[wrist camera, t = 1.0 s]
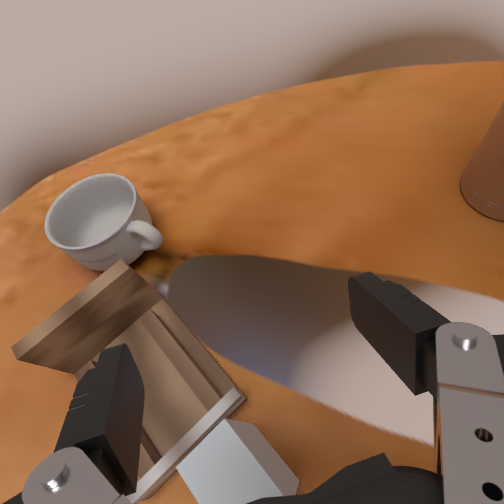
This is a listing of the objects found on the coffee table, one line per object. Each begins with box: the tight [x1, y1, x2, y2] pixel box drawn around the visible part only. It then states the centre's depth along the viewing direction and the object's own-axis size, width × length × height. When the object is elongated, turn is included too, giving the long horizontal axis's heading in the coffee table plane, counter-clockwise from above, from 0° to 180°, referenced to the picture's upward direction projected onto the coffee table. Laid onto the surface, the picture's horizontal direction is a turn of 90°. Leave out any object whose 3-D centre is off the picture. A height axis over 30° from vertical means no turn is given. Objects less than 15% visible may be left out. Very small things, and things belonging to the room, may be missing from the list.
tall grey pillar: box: [176, 418, 300, 504], centre depth 25 cm, size 4×6×12 cm, turn 42°
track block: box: [11, 259, 247, 504], centre depth 32 cm, size 12×16×9 cm
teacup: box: [45, 173, 163, 271], centre depth 41 cm, size 14×11×8 cm
